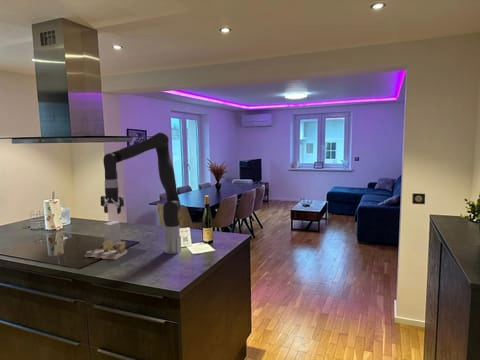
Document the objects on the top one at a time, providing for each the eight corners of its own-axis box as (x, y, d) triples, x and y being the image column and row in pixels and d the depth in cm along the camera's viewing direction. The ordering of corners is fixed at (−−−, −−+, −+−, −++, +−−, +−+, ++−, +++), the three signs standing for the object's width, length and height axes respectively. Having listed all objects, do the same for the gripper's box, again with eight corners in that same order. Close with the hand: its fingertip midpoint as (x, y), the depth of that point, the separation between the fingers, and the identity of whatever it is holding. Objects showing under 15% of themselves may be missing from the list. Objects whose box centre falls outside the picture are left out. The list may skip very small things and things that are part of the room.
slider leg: (112, 249, 196) (112, 240, 196) (105, 254, 188) (104, 244, 188) (108, 249, 197) (108, 240, 196) (100, 253, 189) (100, 244, 188)
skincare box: (114, 242, 217) (114, 220, 215) (121, 244, 213) (120, 221, 212) (104, 245, 209) (103, 223, 208) (110, 247, 206) (109, 224, 204)
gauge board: (127, 252, 197) (126, 240, 196) (115, 259, 184) (115, 247, 184) (98, 250, 201) (97, 238, 200) (84, 257, 188) (84, 245, 187)
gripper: (125, 186, 190) (126, 212, 192) (105, 185, 193) (106, 211, 195) (118, 187, 183) (119, 215, 184) (97, 187, 186) (98, 214, 188)
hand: (112, 213), depth 190 cm, fingers open, 8 cm apart
